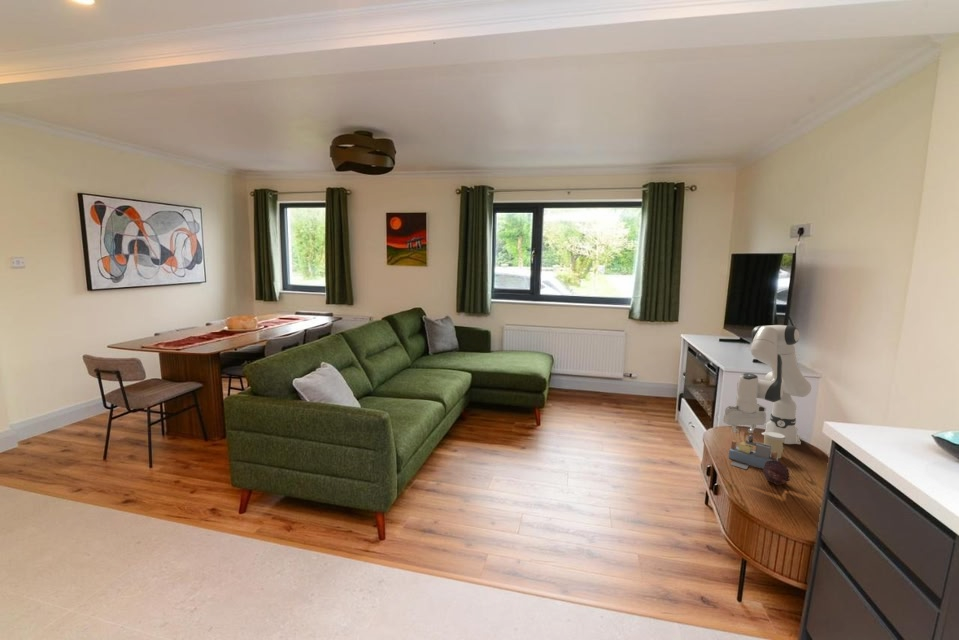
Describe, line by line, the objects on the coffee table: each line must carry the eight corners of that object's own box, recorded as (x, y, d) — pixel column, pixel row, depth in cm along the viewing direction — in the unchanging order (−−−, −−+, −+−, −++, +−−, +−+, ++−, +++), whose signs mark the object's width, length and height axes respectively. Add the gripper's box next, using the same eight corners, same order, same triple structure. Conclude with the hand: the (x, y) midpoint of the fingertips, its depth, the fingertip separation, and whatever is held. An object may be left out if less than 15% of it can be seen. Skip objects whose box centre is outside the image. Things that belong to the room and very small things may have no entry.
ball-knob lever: (746, 442, 218) (746, 434, 218) (764, 447, 213) (765, 438, 213) (745, 443, 217) (746, 435, 216) (763, 448, 212) (764, 439, 211)
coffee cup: (786, 460, 220) (789, 438, 218) (766, 458, 222) (769, 437, 220) (777, 453, 229) (780, 432, 228) (758, 451, 231) (761, 430, 229)
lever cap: (741, 448, 222) (742, 441, 221) (752, 451, 218) (753, 444, 218) (738, 451, 218) (739, 443, 218) (749, 454, 215) (750, 446, 214)
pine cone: (757, 471, 207) (759, 452, 206) (781, 475, 203) (783, 455, 202) (767, 488, 190) (769, 467, 189) (793, 493, 187) (796, 471, 186)
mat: (733, 461, 217) (733, 460, 217) (749, 466, 213) (749, 465, 213) (730, 465, 213) (730, 464, 213) (746, 469, 208) (746, 469, 208)
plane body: (732, 454, 226) (734, 435, 225) (777, 466, 212) (779, 446, 211) (728, 459, 220) (730, 439, 219) (774, 472, 207) (776, 451, 205)
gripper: (730, 408, 205) (727, 435, 207) (769, 408, 207) (766, 435, 208) (721, 404, 211) (719, 430, 213) (760, 404, 213) (757, 430, 215)
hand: (742, 432), depth 211 cm, fingers open, 7 cm apart
